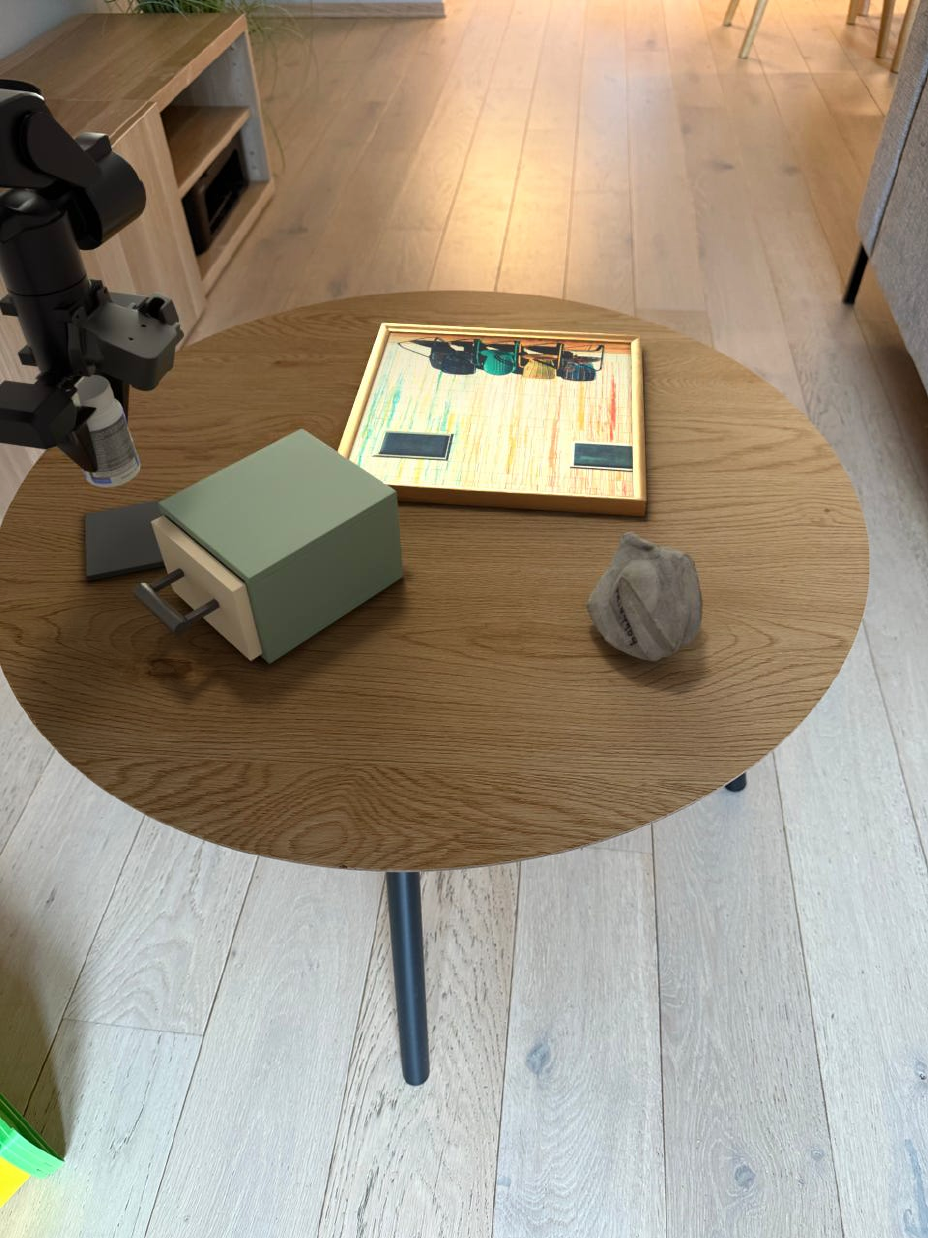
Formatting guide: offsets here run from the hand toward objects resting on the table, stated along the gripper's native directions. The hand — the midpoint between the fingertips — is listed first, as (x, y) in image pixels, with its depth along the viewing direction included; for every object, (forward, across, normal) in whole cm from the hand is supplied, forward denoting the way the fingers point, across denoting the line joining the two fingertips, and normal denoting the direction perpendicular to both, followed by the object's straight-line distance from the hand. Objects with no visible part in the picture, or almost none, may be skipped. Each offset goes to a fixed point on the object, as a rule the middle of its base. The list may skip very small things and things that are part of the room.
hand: (106, 453), depth 80 cm
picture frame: (+10, +27, -28) cm, 41 cm away
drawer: (+9, -5, -14) cm, 18 cm away
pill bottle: (+2, 0, 0) cm, 2 cm away
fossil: (+10, 0, -46) cm, 48 cm away
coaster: (+10, 0, 0) cm, 10 cm away
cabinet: (+10, -2, -16) cm, 19 cm away
